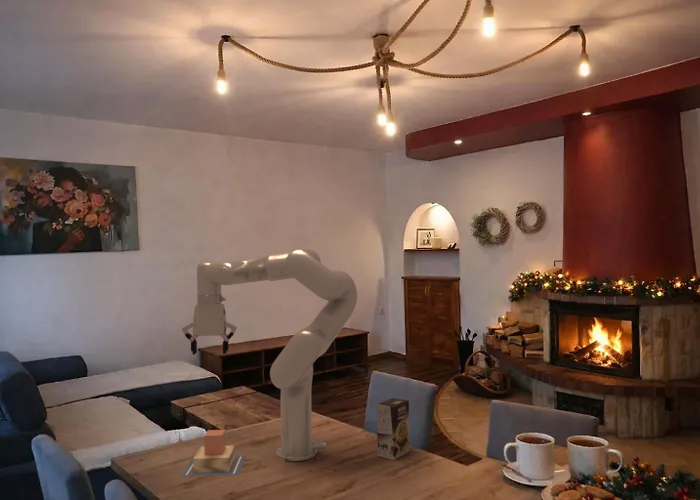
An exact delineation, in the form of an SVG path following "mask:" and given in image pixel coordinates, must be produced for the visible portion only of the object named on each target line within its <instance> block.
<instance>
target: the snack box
mask: <svg viewBox="0 0 700 500" xmlns="http://www.w3.org/2000/svg"><path fill="white" fill-rule="evenodd" d="M409 404H410V401H409V400H407V399H402V398H393V397H391V398H389V399H386V400H384V401H381V402H378V403H377V404H376V407H377V408H376V411H377V412H376V419H377V423H376V426H377V429H376V430H377V432H376V435H377V437H376V438H377V441H376V444H377V445H376V446H377V447H376V448H377V450H376V451H377V453H376V454H377V457H381V458H383V459H388V460H390V461H395V460H397V459H399V458H401V457H402V456H404V455H406V454H408V453H409V452H410V405H409Z"/></svg>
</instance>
